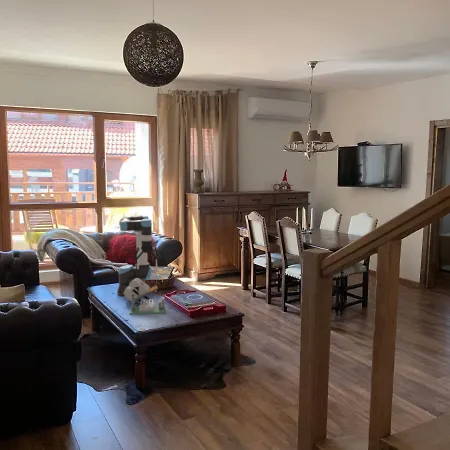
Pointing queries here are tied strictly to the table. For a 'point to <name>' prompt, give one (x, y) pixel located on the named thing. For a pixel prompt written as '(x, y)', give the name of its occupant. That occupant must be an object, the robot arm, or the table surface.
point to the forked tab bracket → (132, 304)
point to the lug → (161, 304)
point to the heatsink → (146, 306)
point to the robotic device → (136, 290)
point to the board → (156, 311)
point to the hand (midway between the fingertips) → (147, 268)
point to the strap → (146, 293)
